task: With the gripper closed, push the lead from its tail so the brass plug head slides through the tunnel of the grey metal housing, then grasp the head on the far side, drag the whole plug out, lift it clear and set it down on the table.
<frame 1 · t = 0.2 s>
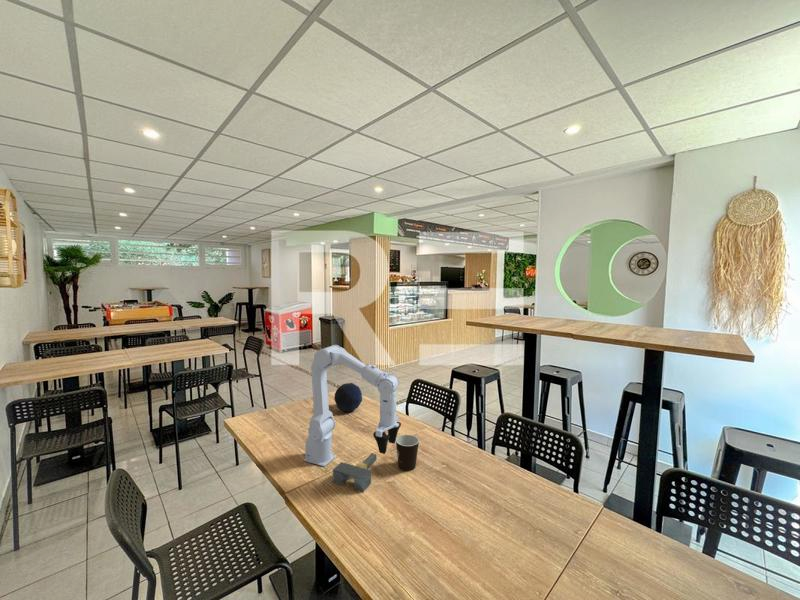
hand: (387, 447, 114), 10 cm above the table, fingers open, 7 cm apart
plug: (368, 465, 121), on the table
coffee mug: (407, 464, 122), on the table
decorative orb: (348, 410, 170), on the table
housing: (351, 482, 110), on the table
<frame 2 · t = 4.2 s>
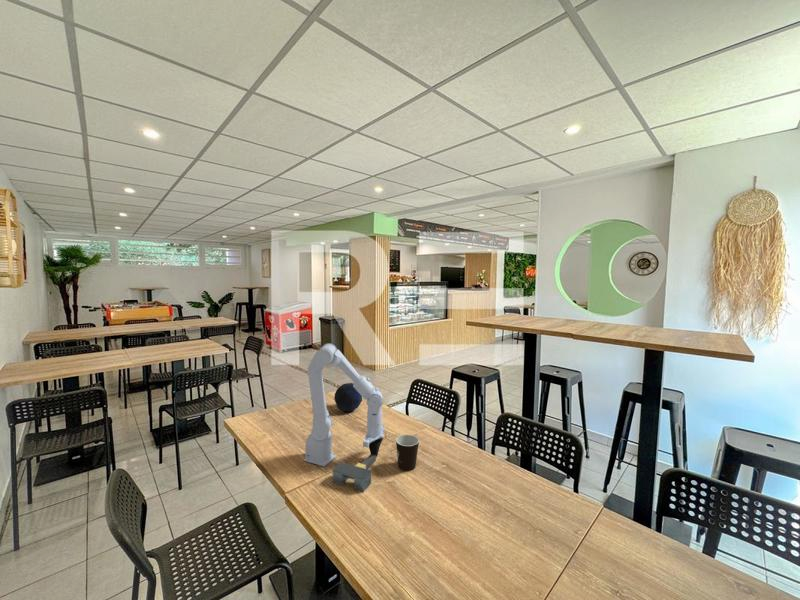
hand: (374, 456, 125), 1 cm above the table, fingers closed
plug: (367, 465, 120), on the table, touching gripper
everything else where it was.
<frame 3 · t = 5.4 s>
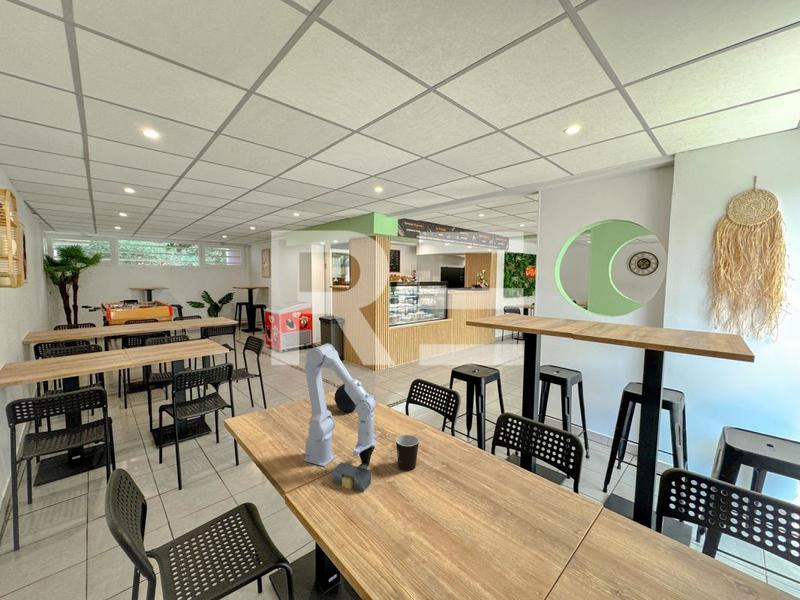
hand: (365, 465, 118), 1 cm above the table, fingers closed
plug: (357, 475, 114), on the table, touching gripper
everything else where it was.
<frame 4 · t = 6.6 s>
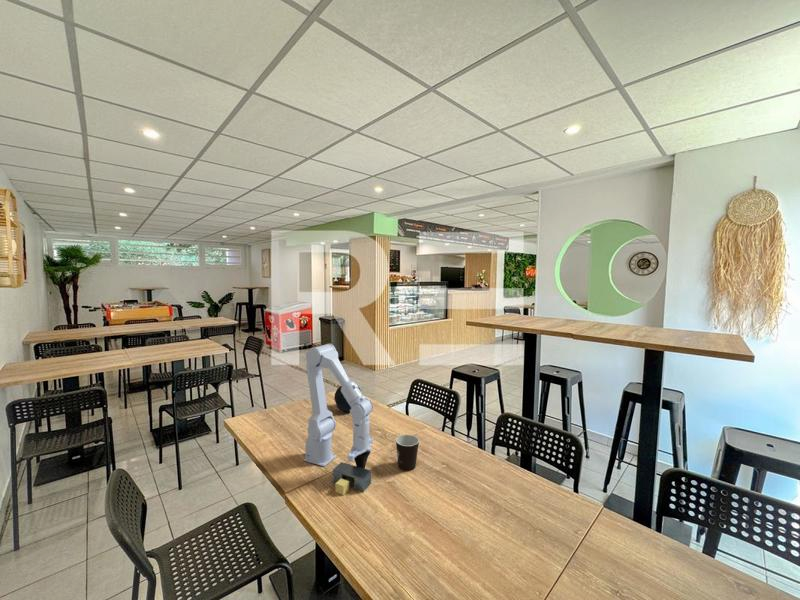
hand: (360, 470, 115), 1 cm above the table, fingers closed
plug: (352, 481, 111), on the table, touching gripper
everything else where it was.
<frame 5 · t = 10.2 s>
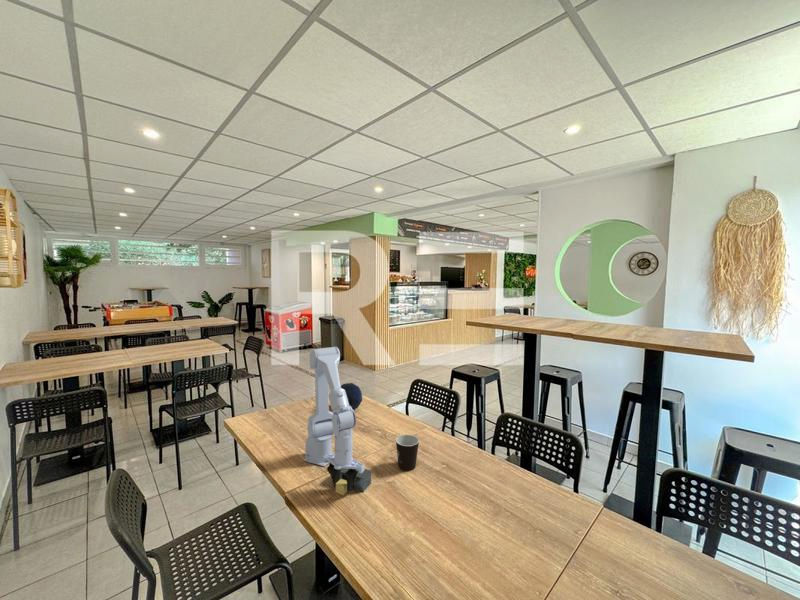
hand: (343, 487, 105), 1 cm above the table, fingers open, 4 cm apart
nothing on the table moved.
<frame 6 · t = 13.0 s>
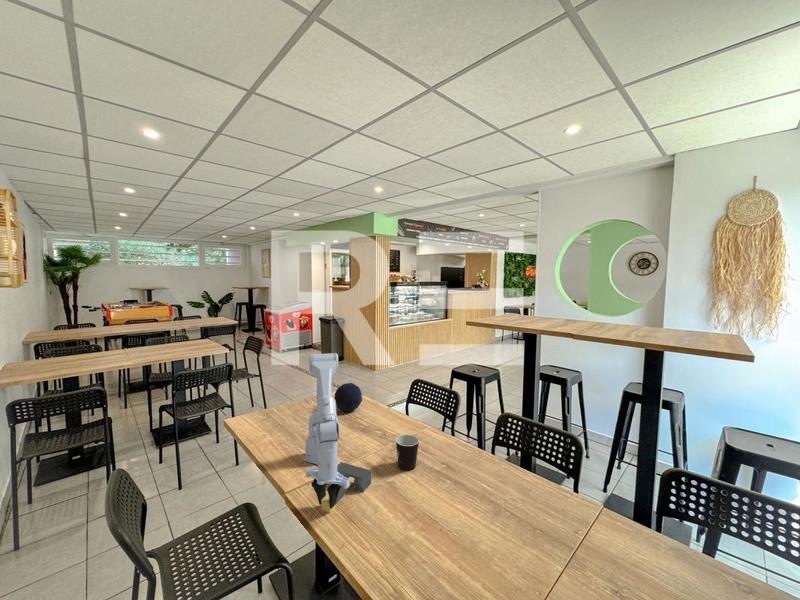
hand: (327, 504, 97), 2 cm above the table, fingers closed on plug, 3 cm apart
plug: (339, 496, 103), on the table, touching gripper
everything else where it was.
when the fingers open (2 cm above the table, at t = 15.5 s): plug stays where it is, on the table.
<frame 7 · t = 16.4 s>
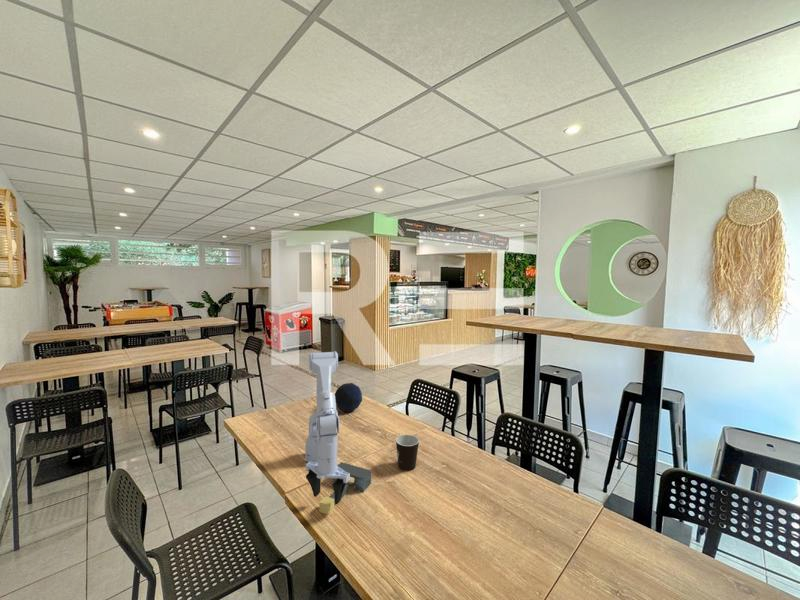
hand: (327, 498, 97), 3 cm above the table, fingers open, 7 cm apart
plug: (337, 498, 102), on the table
everything else where it was.
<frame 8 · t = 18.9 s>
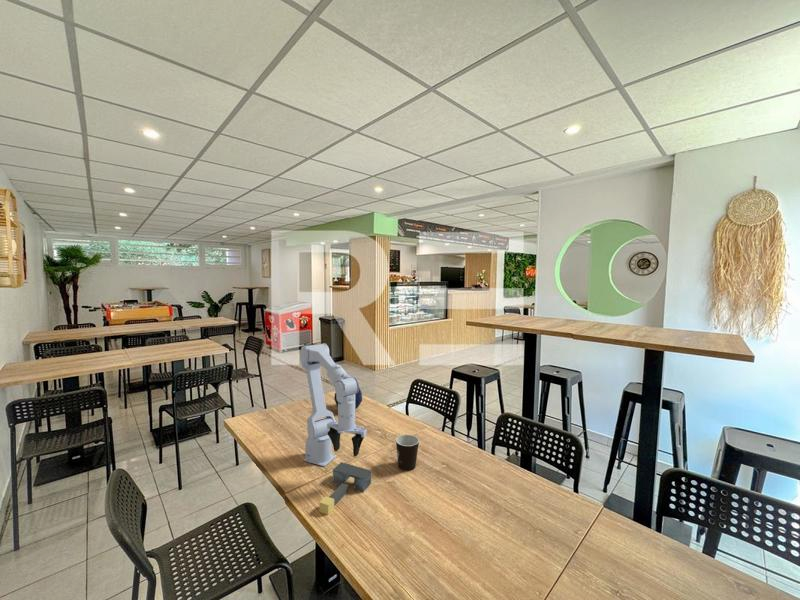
hand: (346, 452, 109), 10 cm above the table, fingers open, 7 cm apart
nothing on the table moved.
at the end: plug inside the target area (4.2 cm from its centre), on the table; plug touching table; the gripper is holding nothing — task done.
